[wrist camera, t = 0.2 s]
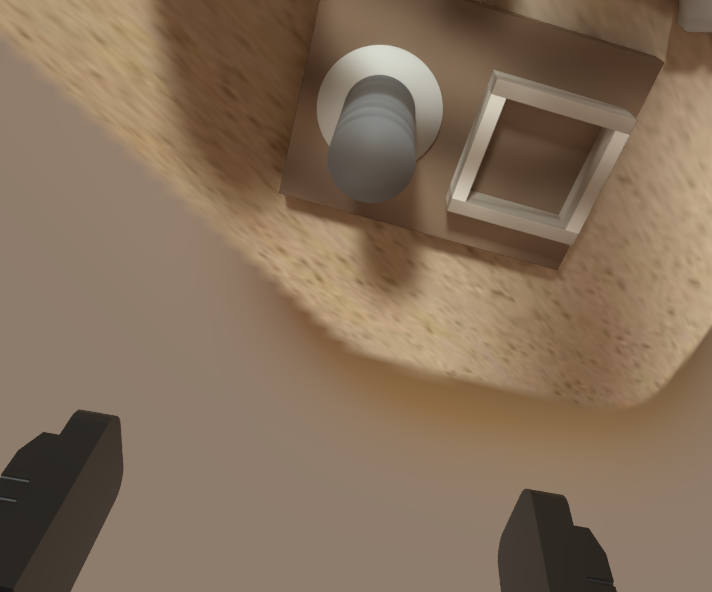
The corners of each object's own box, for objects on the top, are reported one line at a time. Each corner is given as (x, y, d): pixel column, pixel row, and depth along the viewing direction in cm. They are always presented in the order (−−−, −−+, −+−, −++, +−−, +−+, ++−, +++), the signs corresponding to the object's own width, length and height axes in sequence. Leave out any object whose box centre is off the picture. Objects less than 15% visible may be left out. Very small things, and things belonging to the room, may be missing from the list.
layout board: (331, -43, 33) (304, -23, 25) (655, 56, 34) (729, 106, 26) (283, 183, 39) (249, 256, 32) (552, 258, 41) (586, 346, 33)
